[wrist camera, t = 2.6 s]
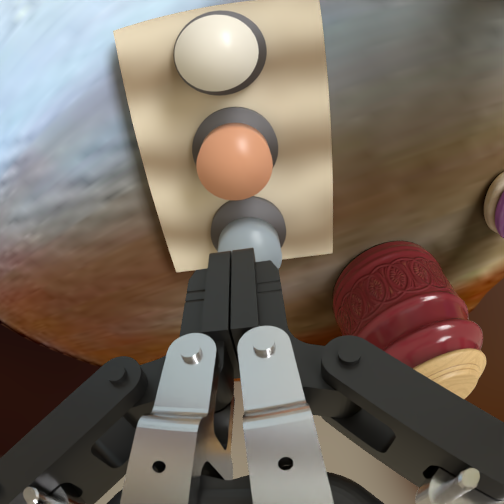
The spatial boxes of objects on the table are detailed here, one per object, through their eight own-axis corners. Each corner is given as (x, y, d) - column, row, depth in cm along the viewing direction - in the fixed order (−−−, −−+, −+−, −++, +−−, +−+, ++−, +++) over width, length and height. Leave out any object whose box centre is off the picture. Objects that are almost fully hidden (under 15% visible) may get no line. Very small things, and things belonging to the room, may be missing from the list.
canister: (452, 267, 33) (524, 387, 19) (381, 335, 40) (421, 456, 25) (385, 215, 29) (478, 367, 15) (306, 303, 35) (336, 457, 21)
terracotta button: (194, 128, 20) (189, 136, 18) (265, 118, 19) (268, 125, 18) (206, 191, 22) (204, 205, 21) (273, 182, 22) (276, 195, 20)
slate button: (213, 221, 24) (211, 236, 22) (276, 213, 23) (279, 227, 22) (224, 270, 26) (223, 287, 25) (281, 263, 26) (284, 279, 24)
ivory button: (175, 26, 16) (168, 23, 14) (251, 13, 15) (252, 9, 14) (187, 93, 18) (181, 98, 17) (261, 82, 18) (263, 85, 16)
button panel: (124, 31, 19) (109, 30, 16) (311, 2, 18) (321, -5, 15) (180, 255, 31) (175, 278, 28) (326, 237, 30) (334, 258, 28)
